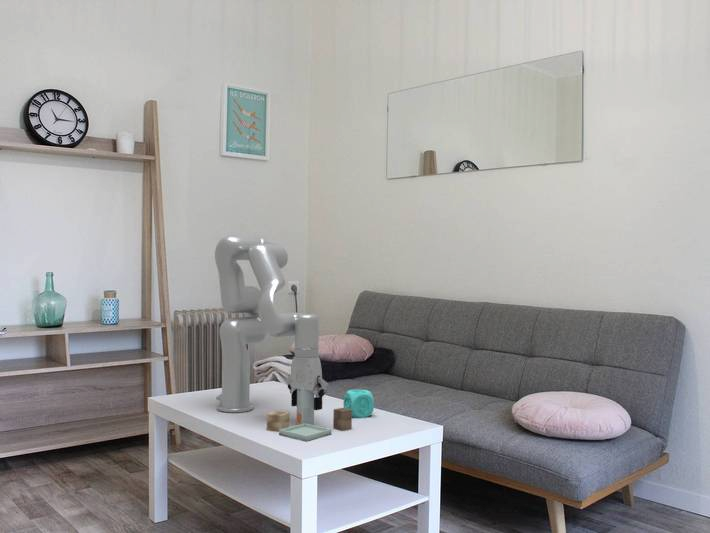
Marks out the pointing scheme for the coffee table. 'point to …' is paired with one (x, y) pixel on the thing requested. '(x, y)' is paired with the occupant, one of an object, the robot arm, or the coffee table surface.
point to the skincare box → (305, 407)
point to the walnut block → (342, 419)
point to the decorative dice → (359, 402)
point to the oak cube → (277, 420)
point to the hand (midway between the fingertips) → (306, 407)
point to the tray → (305, 432)
